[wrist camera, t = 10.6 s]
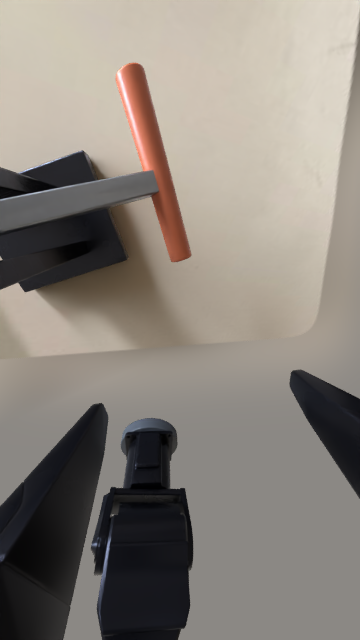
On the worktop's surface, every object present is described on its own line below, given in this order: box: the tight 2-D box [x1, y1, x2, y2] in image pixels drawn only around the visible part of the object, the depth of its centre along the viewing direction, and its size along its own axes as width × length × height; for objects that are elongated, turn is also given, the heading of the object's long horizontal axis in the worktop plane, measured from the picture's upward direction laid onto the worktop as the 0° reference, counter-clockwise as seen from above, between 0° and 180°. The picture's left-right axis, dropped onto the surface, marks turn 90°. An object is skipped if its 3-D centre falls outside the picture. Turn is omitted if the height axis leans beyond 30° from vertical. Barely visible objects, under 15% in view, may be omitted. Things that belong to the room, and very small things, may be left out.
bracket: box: [0, 150, 129, 292], centre depth 11 cm, size 10×8×13 cm
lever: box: [0, 63, 191, 262], centre depth 9 cm, size 13×9×2 cm
